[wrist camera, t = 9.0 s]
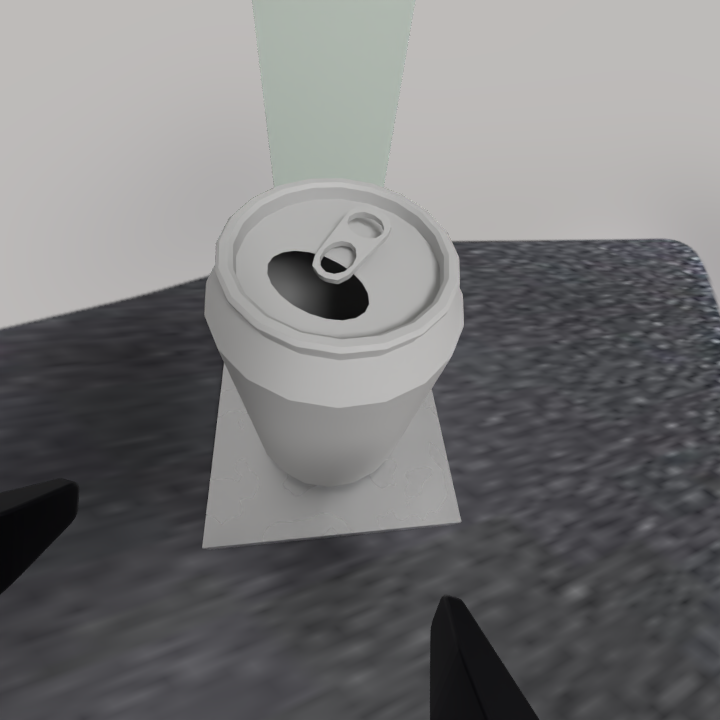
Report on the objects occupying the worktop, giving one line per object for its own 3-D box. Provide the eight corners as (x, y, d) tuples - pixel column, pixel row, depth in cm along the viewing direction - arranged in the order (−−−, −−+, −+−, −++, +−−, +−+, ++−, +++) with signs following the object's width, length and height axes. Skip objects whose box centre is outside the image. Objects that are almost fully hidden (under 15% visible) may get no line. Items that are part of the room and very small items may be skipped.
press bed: (451, 525, 18) (461, 522, 17) (211, 549, 16) (202, 548, 15) (412, 339, 24) (417, 326, 23) (233, 343, 22) (227, 329, 21)
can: (228, 432, 18) (107, 252, 8) (318, 338, 21) (316, 130, 11) (345, 523, 16) (389, 449, 6) (422, 405, 20) (531, 233, 10)
